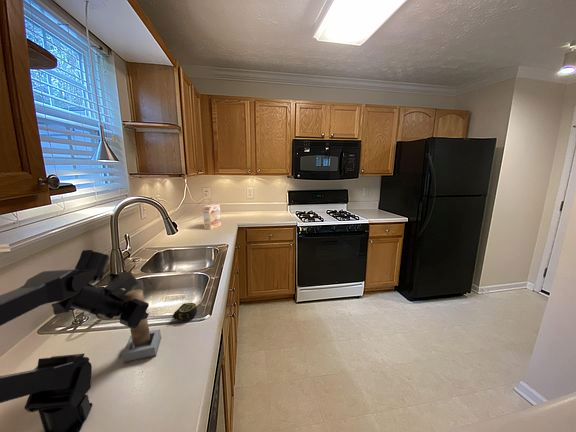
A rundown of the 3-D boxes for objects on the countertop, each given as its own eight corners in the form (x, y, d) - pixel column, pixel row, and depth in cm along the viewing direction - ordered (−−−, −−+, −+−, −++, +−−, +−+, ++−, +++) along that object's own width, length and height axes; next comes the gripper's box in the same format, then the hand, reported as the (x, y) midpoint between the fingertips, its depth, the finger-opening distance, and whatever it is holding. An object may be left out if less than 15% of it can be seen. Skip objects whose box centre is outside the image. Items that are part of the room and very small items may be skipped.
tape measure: (184, 310, 91) (183, 301, 90) (201, 311, 90) (200, 302, 89) (173, 321, 85) (171, 312, 84) (191, 323, 83) (189, 313, 83)
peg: (130, 347, 68) (121, 298, 65) (135, 336, 72) (127, 291, 69) (148, 343, 69) (140, 295, 66) (151, 333, 74) (144, 288, 70)
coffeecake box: (211, 229, 203) (208, 206, 199) (204, 229, 206) (201, 206, 202) (221, 225, 217) (220, 203, 213) (215, 224, 220) (213, 203, 215)
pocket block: (123, 363, 67) (121, 354, 66) (132, 343, 74) (130, 335, 74) (155, 356, 69) (154, 347, 68) (161, 337, 77) (159, 329, 76)
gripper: (135, 273, 58) (178, 293, 70) (92, 262, 66) (138, 281, 78) (105, 321, 53) (158, 334, 65) (62, 303, 61) (116, 317, 73)
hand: (142, 314), depth 71 cm, fingers closed on peg, 4 cm apart
